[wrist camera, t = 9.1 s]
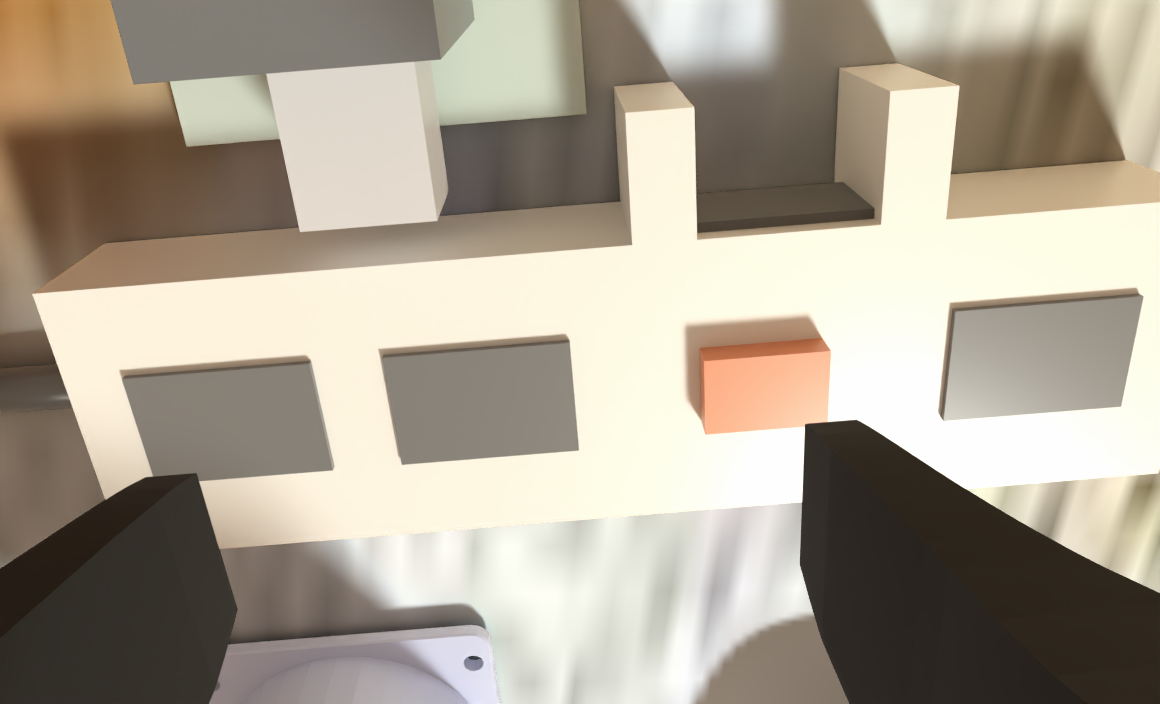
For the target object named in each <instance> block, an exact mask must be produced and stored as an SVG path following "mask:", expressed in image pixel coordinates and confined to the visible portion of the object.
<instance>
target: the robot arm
mask: <svg viewBox="0 0 1160 704" xmlns="http://www.w3.org/2000/svg"><path fill="white" fill-rule="evenodd" d="M800 566H801V570H802V573H803V577H804V581H805V584H806V588H807V591H808V595H809V599H810V602H811V606H812V609H813V612H814V616H815V619H816V622H817V626H818V629H819V632H820V635H821V638H822V641H823V643H824V646H825V648H826V650H827V653H828V655H829V657H830V660H831V662H832V664H833V667H834V669H835V671H836V674H837V676H838V678H839V681H840V683H841V685H842V688H843V690H844V692H845V695H846V697H847V699H848V701H849V704H1160V593H1158V592H1156V591H1154V590H1152V589H1150V588H1148V587H1145V586H1143V585H1141V584H1139V583H1137V582H1135V581H1133V580H1130V579H1128V578H1126V577H1124V576H1122V575H1120V574H1118V573H1115V572H1113V571H1111V570H1109V569H1107V568H1105V567H1103V566H1101V565H1099V564H1097V563H1095V562H1093V561H1091V560H1089V559H1087V558H1085V557H1083V556H1081V555H1079V554H1077V553H1075V552H1073V551H1072V550H1070V549H1068V548H1066V547H1064V546H1063V545H1061V544H1059V543H1057V542H1055V541H1054V540H1052V539H1050V538H1048V537H1046V536H1044V535H1043V534H1041V533H1039V532H1037V531H1035V530H1034V529H1032V528H1030V527H1028V526H1026V525H1025V524H1023V523H1021V522H1019V521H1018V520H1016V519H1014V518H1013V517H1011V516H1009V515H1007V514H1006V513H1004V512H1002V511H1001V510H999V509H997V508H996V507H994V506H992V505H991V504H989V503H987V502H986V501H984V500H983V499H981V498H979V497H978V496H976V495H974V494H973V493H971V492H970V491H968V490H966V489H965V488H963V487H962V486H960V485H959V484H957V483H955V482H954V481H952V480H951V479H949V478H948V477H946V476H945V475H943V474H941V473H940V472H938V471H937V470H935V469H934V468H932V467H931V466H929V465H928V464H926V463H925V462H923V461H922V460H920V459H918V458H917V457H915V456H914V455H912V454H911V453H909V452H908V451H906V450H905V449H903V448H902V447H900V446H899V445H897V444H896V443H894V442H893V441H891V440H890V439H888V438H886V437H885V436H883V435H882V434H880V433H879V432H877V431H876V430H874V429H872V428H871V427H869V426H867V425H866V424H864V423H862V422H860V421H858V420H845V421H833V422H821V423H808V424H805V437H804V465H803V493H802V520H801V548H800ZM236 613H237V606H236V603H235V600H234V596H233V593H232V590H231V586H230V583H229V580H228V576H227V573H226V570H225V566H224V563H223V560H222V556H221V553H220V550H219V546H218V543H217V540H216V536H215V533H214V530H213V526H212V523H211V519H210V516H209V513H208V509H207V506H206V503H205V499H204V496H203V493H202V489H201V486H200V483H199V479H198V476H197V473H190V474H178V475H166V476H153V477H145V478H143V479H141V480H139V481H137V482H135V483H133V484H131V485H129V486H128V487H126V488H124V489H122V490H121V491H119V492H117V493H116V494H114V495H112V496H111V497H109V498H108V499H106V500H104V501H103V502H101V503H100V504H98V505H96V506H95V507H93V508H92V509H90V510H89V511H87V512H86V513H84V514H83V515H81V516H79V517H78V518H76V519H75V520H73V521H72V522H70V523H69V524H67V525H66V526H64V527H63V528H61V529H60V530H58V531H57V532H55V533H54V534H52V535H51V536H49V537H48V538H46V539H45V540H43V541H42V542H40V543H39V544H37V545H36V546H34V547H33V548H31V549H30V550H28V551H27V552H25V553H23V554H22V555H20V556H19V557H17V558H16V559H14V560H13V561H11V562H10V563H8V564H7V565H5V566H4V567H2V568H1V569H0V704H501V702H500V695H499V688H498V682H497V675H496V668H495V662H494V655H493V648H492V642H491V637H490V634H489V632H488V631H486V630H485V629H484V628H482V627H480V626H477V625H462V626H450V627H438V628H425V629H413V630H400V631H388V632H376V633H363V634H351V635H339V636H326V637H314V638H301V639H289V640H277V641H264V642H252V643H239V644H229V640H230V636H231V632H232V628H233V625H234V621H235V617H236ZM469 656H478V657H480V658H481V659H478V660H471V659H469V658H467V657H469Z"/></svg>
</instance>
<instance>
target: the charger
mask: <svg viewBox="0 0 1160 704" xmlns="http://www.w3.org/2000/svg"><path fill="white" fill-rule="evenodd" d="M111 4H112V7H113V11H114V14H115V18H116V22H117V25H118V29H119V33H120V36H121V40H122V44H123V47H124V51H125V55H126V58H127V62H128V66H129V69H130V73H131V76H132V80H133V84H146V83H158V82H171V81H183V80H195V79H208V78H220V77H232V76H245V75H257V74H266V75H267V80H268V85H269V89H270V94H271V99H272V103H273V108H274V113H275V118H276V122H277V127H278V132H279V136H280V141H281V146H282V150H283V155H284V160H285V165H286V169H287V174H288V179H289V183H290V188H291V193H292V197H293V202H294V207H295V211H296V216H297V221H298V226H299V230H300V232H308V231H320V230H332V229H345V228H357V227H369V226H382V225H394V224H406V223H419V222H431V221H438V218H439V215H440V213H441V210H442V208H443V205H444V202H445V200H446V197H447V195H448V192H449V189H448V182H447V175H446V168H445V160H444V153H443V146H442V138H441V131H440V124H439V117H438V109H437V102H436V95H435V88H434V80H433V73H432V66H431V60H441V59H442V58H443V56H444V55H445V54H446V53H447V52H448V51H449V49H450V48H451V47H452V46H453V45H454V44H455V42H456V41H457V40H458V39H459V38H460V36H461V35H462V34H463V33H464V32H465V31H466V29H467V28H468V27H469V26H470V25H471V23H472V22H473V21H474V20H475V18H474V10H473V1H472V0H111Z"/></svg>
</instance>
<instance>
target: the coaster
mask: <svg viewBox="0 0 1160 704" xmlns="http://www.w3.org/2000/svg"><path fill="white" fill-rule="evenodd" d="M472 1H473V10H474V18H475V20H474V21H473V22H472V23H471V25H470V26H469V27H468V28H467V29H466V31H465V32H464V33H463V34H462V35H461V36H460V38H459V39H458V40H457V41H456V42H455V44H454V45H453V46H452V47H451V48H450V49H449V51H448V52H447V53H446V54H445V55H444V56H443V58H442V59H441V60H431V66H432V73H433V80H434V88H435V95H436V102H437V109H438V117H439V124H440V126H446V125H459V124H471V123H483V122H496V121H508V120H520V119H532V118H545V117H557V116H569V115H581V114H587V109H586V94H585V80H584V66H583V51H582V37H581V23H580V8H579V0H472ZM170 85H171V88H172V92H173V96H174V100H175V104H176V108H177V112H178V116H179V119H180V123H181V127H182V131H183V135H184V139H185V143H186V147H189V146H201V145H213V144H225V143H238V142H250V141H262V140H275V139H280V136H279V132H278V127H277V122H276V118H275V113H274V108H273V103H272V99H271V94H270V89H269V85H268V80H267V75H266V74H257V75H245V76H232V77H220V78H208V79H195V80H183V81H171V82H170Z"/></svg>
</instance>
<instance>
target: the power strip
mask: <svg viewBox="0 0 1160 704" xmlns="http://www.w3.org/2000/svg"><path fill="white" fill-rule="evenodd" d="M959 87H960V86H959V85H956V84H954V83H951V82H948V81H946V80H943V79H940V78H937V77H935V76H932V75H929V74H927V73H924V72H921V71H918V70H916V69H913V68H910V67H907V66H905V65H902V64H899V63H894V64H882V65H870V66H857V67H845V68H839V88H838V110H837V132H836V154H835V176H834V183H822V184H810V185H797V186H785V187H773V188H761V189H748V190H736V191H724V192H711V193H699V194H696V160H695V110H694V106H693V105H692V104H691V103H690V101H689V100H688V99H687V98H686V97H685V96H684V94H683V93H682V92H681V91H680V90H679V88H678V87H677V86H676V85H675V84H674V83H673V82H661V83H649V84H636V85H624V86H614V100H615V118H616V135H617V153H618V171H619V188H620V201H619V202H607V203H594V204H582V205H570V206H557V207H545V208H533V209H521V210H508V211H496V212H484V213H471V214H459V215H447V216H439V218H438V221H431V222H419V223H406V224H394V225H382V226H369V227H357V228H345V229H332V230H320V231H308V232H300V230H299V228H287V229H275V230H262V231H250V232H238V233H225V234H213V235H201V236H189V237H176V238H164V239H152V240H139V241H127V242H115V243H104V244H103V245H102V246H100V247H99V248H97V249H96V250H94V251H93V252H92V253H90V254H89V255H87V256H86V257H84V258H83V259H81V260H80V261H79V262H77V263H76V264H74V265H73V266H71V267H70V268H69V269H67V270H66V271H64V272H63V273H61V274H60V275H59V276H57V277H56V278H54V279H53V280H51V281H50V282H49V283H47V284H46V285H44V286H43V287H41V288H40V289H39V290H37V291H36V292H34V293H33V294H32V295H33V298H34V300H35V303H36V306H37V309H38V312H39V314H40V317H41V320H42V323H43V326H44V329H45V331H46V334H47V337H48V340H49V343H50V345H51V348H52V351H53V354H54V357H55V360H56V362H57V364H50V365H38V366H26V367H13V368H1V369H0V414H1V413H14V412H26V411H38V410H51V409H63V408H73V410H74V413H75V416H76V419H77V422H78V424H79V427H80V430H81V433H82V436H83V439H84V441H85V444H86V447H87V450H88V453H89V455H90V458H91V461H92V464H93V467H94V470H95V472H96V475H97V478H98V481H99V484H100V487H101V489H102V492H103V495H104V498H105V500H106V499H108V498H109V497H111V496H112V495H114V494H116V493H117V492H119V491H121V490H122V489H124V488H126V487H128V486H129V485H131V484H133V483H135V482H137V481H139V480H141V479H143V478H145V477H153V476H166V475H178V474H190V473H197V476H198V479H199V483H200V486H201V489H202V493H203V496H204V499H205V503H206V506H207V509H208V513H209V516H210V519H211V523H212V526H213V530H214V533H215V536H216V540H217V543H218V546H219V549H228V548H240V547H253V546H265V545H277V544H290V543H302V542H314V541H327V540H339V539H352V538H364V537H376V536H389V535H401V534H413V533H426V532H438V531H451V530H463V529H475V528H488V527H500V526H512V525H525V524H537V523H549V522H562V521H574V520H587V519H599V518H611V517H624V516H636V515H648V514H661V513H673V512H685V511H698V510H710V509H723V508H735V507H747V506H760V505H772V504H784V503H797V502H802V493H803V465H804V437H805V424H808V423H821V422H833V421H845V420H858V421H860V422H862V423H864V424H866V425H867V426H869V427H871V428H872V429H874V430H876V431H877V432H879V433H880V434H882V435H883V436H885V437H886V438H888V439H890V440H891V441H893V442H894V443H896V444H897V445H899V446H900V447H902V448H903V449H905V450H906V451H908V452H909V453H911V454H912V455H914V456H915V457H917V458H918V459H920V460H922V461H923V462H925V463H926V464H928V465H929V466H931V467H932V468H934V469H935V470H937V471H938V472H940V473H941V474H943V475H945V476H946V477H948V478H949V479H951V480H952V481H954V482H955V483H957V484H959V485H960V486H962V487H963V488H965V489H970V488H982V487H995V486H1007V485H1019V484H1032V483H1044V482H1057V481H1069V480H1081V479H1094V478H1106V477H1118V476H1131V475H1143V474H1155V473H1158V472H1159V468H1160V173H1159V172H1156V171H1154V170H1151V169H1149V168H1146V167H1144V166H1141V165H1138V164H1136V163H1133V162H1131V161H1128V160H1123V161H1111V162H1099V163H1086V164H1074V165H1062V166H1049V167H1037V168H1025V169H1012V170H1000V171H988V172H976V173H963V174H951V166H952V156H953V146H954V136H955V126H956V116H957V106H958V96H959Z"/></svg>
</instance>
